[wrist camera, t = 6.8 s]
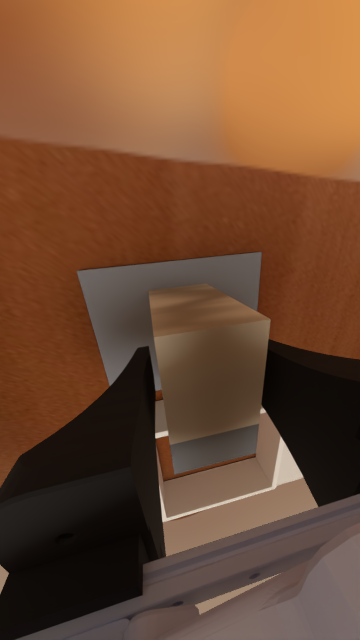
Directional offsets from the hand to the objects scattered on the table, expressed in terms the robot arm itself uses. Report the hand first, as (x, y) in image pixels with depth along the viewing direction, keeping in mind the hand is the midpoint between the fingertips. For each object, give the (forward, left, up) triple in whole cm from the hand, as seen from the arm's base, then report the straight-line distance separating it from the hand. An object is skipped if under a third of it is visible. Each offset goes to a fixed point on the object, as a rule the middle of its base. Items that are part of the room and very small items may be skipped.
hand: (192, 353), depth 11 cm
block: (0, 0, -3) cm, 3 cm away
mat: (0, 0, -4) cm, 4 cm away
